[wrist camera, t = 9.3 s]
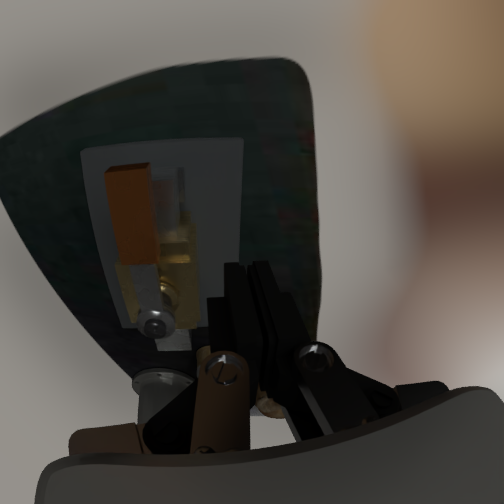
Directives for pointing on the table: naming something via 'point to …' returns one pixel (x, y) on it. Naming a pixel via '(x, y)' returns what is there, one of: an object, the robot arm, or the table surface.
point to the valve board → (196, 200)
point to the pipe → (268, 405)
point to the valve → (171, 260)
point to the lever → (139, 243)
